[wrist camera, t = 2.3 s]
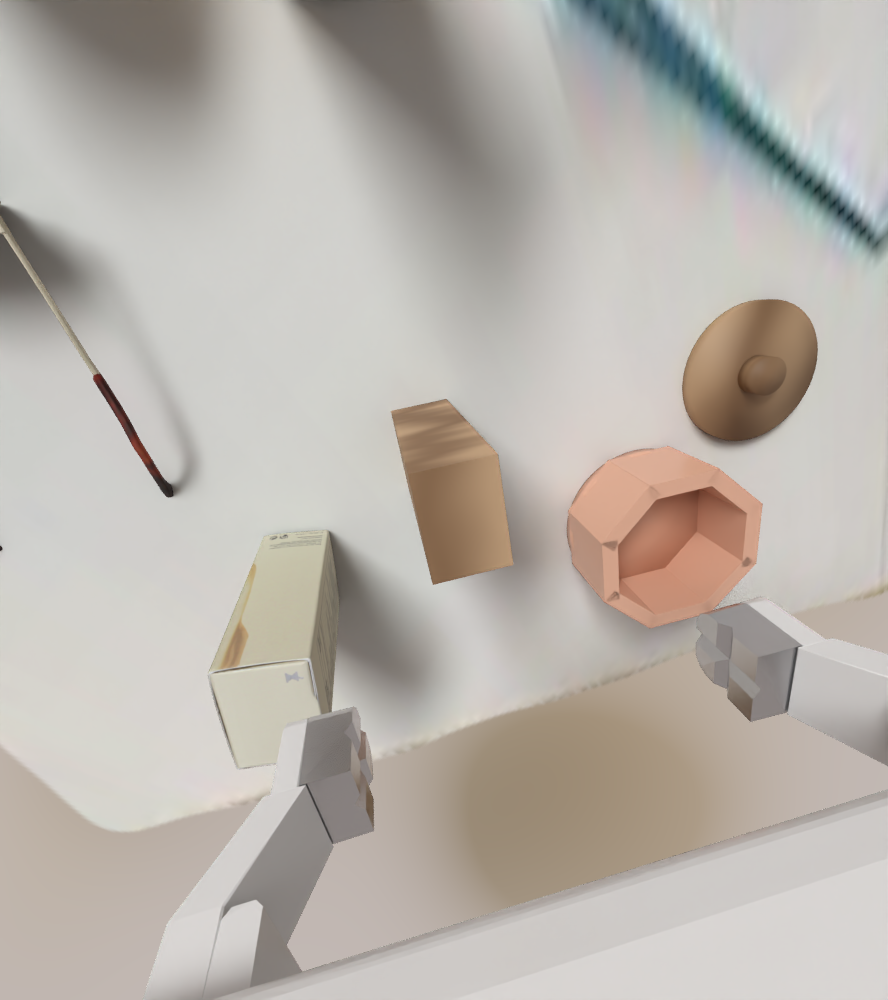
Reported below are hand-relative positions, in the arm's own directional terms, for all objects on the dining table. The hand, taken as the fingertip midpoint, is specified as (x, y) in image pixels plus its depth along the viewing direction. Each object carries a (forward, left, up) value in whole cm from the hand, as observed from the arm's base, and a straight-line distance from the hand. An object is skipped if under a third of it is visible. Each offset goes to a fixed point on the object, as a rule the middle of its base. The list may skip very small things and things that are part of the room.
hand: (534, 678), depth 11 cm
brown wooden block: (0, 0, -21) cm, 21 cm away
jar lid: (-22, 0, -21) cm, 30 cm away
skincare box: (+10, +7, -21) cm, 24 cm away
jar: (-14, +9, -21) cm, 26 cm away
